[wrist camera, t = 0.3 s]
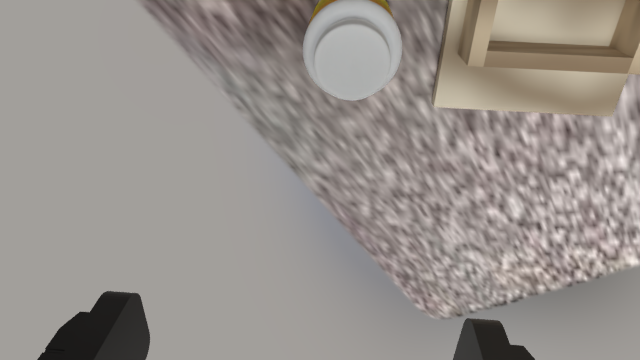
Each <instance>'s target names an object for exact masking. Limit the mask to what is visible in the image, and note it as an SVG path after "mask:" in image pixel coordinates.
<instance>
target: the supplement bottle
mask: <svg viewBox="0 0 640 360" xmlns="http://www.w3.org/2000/svg"><path fill="white" fill-rule="evenodd" d="M401 56H402V38H401V34H400V31H399V28H398V26H397V24H396V21H395V19H394V17H393V14H392V12H391V10H390V8H389V5H388V3H387V1H386V0H319V2H318V3H317V5H316V7H315V9H314V12H313V15H312V17H311V19H310V23H309V25H308V27H307V30H306V33H305V37H304V42H303V58H304V63H305V67H306V69H307V71H308V73H309V75H310V77H311V78H312V80H313V81H314V82H315V83H316V84H317V85H318V86H319V87H320V88H321V89H322V90H324V91H325V92H327V93H328V94H330V95H332V96H334V97H336V98H339V99H342V100H349V101H354V100H361V99H364V98H367V97H369V96H371V95H373V94H375V93H377V92H378V91H380V90H381V89H383V88H384V87H385V86H386V85H387V84H388V83H389V82H390V81H391V79H392V78H393V76H394V75H395V73H396V71H397V69H398V67H399V64H400V61H401Z"/></svg>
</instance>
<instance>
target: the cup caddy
mask: <svg viewBox="0 0 640 360" xmlns="http://www.w3.org/2000/svg"><path fill="white" fill-rule="evenodd" d="M629 74H639V75H640V0H449V5H448V10H447V16H446V22H445V28H444V34H443V40H442V45H441V51H440V57H439V63H438V69H437V75H436V80H435V86H434V92H433V98H432V104H433V106H434V107H441V108H460V109H479V110H498V111H517V112H536V113H555V114H574V115H592V116H611V117H612V115H613V112H614V110H615V107H616V105H617V102H618V100H619V97H620V95H621V92H622V90H623V87H624V85H625V82H626V80H627V77H628V75H629Z"/></svg>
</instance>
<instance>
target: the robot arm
mask: <svg viewBox="0 0 640 360" xmlns="http://www.w3.org/2000/svg"><path fill="white" fill-rule="evenodd" d="M149 344H150V334H149V329H148V325H147V321H146V318H145V313H144V309H143V305H142V301H141V297H140V295H139V294H137V293H126V292H112V291H107V292H105V293H103V294H102V295H101V296H100V298H99V299H98V301H97V302H96V304H95V305H94V307H93V308H92V310H91V311H90V312H79V313H78V314H77V315H75V317H73V318H72V319H71V320H69V321H68V322H67V323H66V324H64V325H63V326H62V327H61V328H60V329H59V330H58V331H57V333H56V334H55V336H54V337H53V338H52V340H51V341H50V343H49V344H48V346H47V347H46V348H45V349H46V350H45V352H44V353H42V354H41V355H40V357H39V358H38V360H145V359H146V357H147V354H148V350H149ZM453 360H535V359H534V358H533V357H532V356H531V354H530V353H529V352H528V351H527V350H526V348H525V347H524V346H519V345H510V343H509V341H508V338H507V335H506V333H505V330H504V327H503V325H502V324H501V323H500V321H496V320H484V319H469V318H467V319H466V320H465V322H464V324H463V328H462V331H461V334H460V338H459V341H458V344H457V348H456V351H455V354H454V358H453Z"/></svg>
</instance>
